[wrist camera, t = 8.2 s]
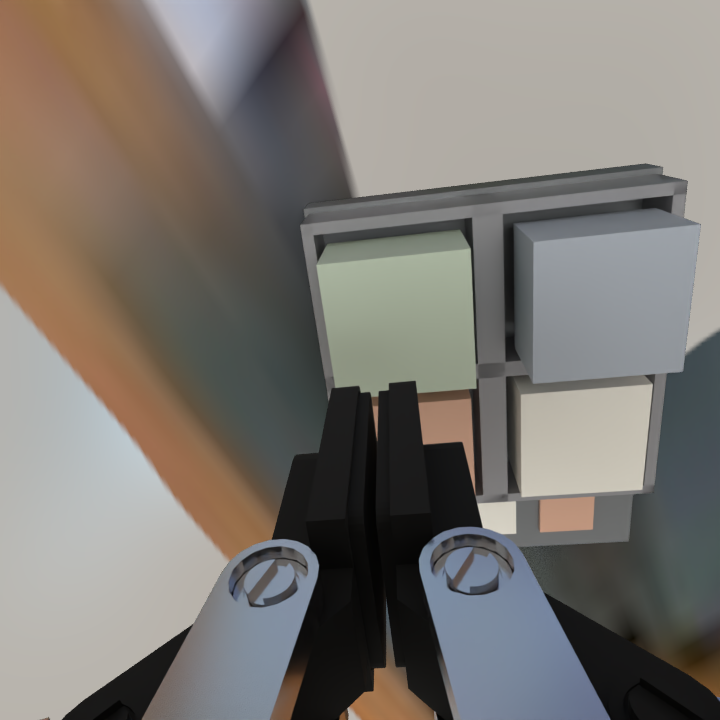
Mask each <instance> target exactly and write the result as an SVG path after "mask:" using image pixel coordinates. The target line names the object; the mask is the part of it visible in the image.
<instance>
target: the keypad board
mask: <svg viewBox="0 0 720 720" xmlns="http://www.w3.org/2000/svg"><path fill="white" fill-rule="evenodd" d="M662 173H663V167H660V166H655V165H650V164H638V165H630V166H621V167H613V168H605V169H596V170H588V171H579V172H570V173H562V174H553V175H545V176H537V177H529V178H520V179H511V180H502V181H494V182H485V183H477V184H468V185H460V186H451V187H443V188H434V189H427V190H417V191H410V192H401V193H392V194H384V195H375V196H366V197H358V198H349V199H341V200H332V201H324V202H315V203H309V204H308V205H307V206H306V207H305V208H304V215H305V220H304V221H303V222H302V223H301V224H300V228H301V234H302V240H303V246H304V253H305V259H306V265H307V271H308V277H309V283H310V290H311V296H312V302H313V308H314V314H315V320H316V327H317V333H318V339H319V345H320V351H321V357H322V363H323V370H324V376H325V382H326V388H327V394H328V400H329V399H330V394H331V389H332V388H335V382H334V376H333V369H332V363H331V356H330V350H329V344H328V337H327V331H326V324H325V318H324V311H323V305H322V298H321V292H320V286H319V279H318V273H317V266H316V265H317V263H318V261H319V259H320V257H321V255H322V253H323V251H324V249H325V248H326V246H327V244H330V243H339V242H348V241H357V240H366V239H376V238H385V237H394V236H403V235H412V234H421V233H430V232H439V231H448V230H457V229H460V230H461V232H462V234H463V236H464V238H465V239H466V241H467V243H468V245H469V247H470V248H471V267H472V291H473V315H474V339H475V363H476V387H477V388H476V389H469V393H470V397H471V410H472V431H473V453H474V474H475V496H476V500H477V505H478V509H479V513H480V517H481V522H482V526H483V528H485V529H489V530H492V531H495V532H497V533H500V534H502V535H504V536H505V537H507V538H508V539H510V540H511V541H512V542H514V543H515V544H516V546H517V547H528V546H548V545H567V544H586V543H606V542H625V541H629V533H630V522H631V511H632V500H633V494H645V493H654V484H655V475H656V466H657V457H658V448H659V439H660V430H661V420H662V411H663V402H664V393H665V384H666V375H667V373H662V374H649V375H645V377H646V378H647V379H648V380H649V381H650V382H651V383H652V384H653V388H652V398H651V408H650V418H649V428H648V438H647V448H646V458H645V468H644V478H643V488H642V490H632V491H616V492H599V493H582V494H566V495H549V496H533V497H521V494H520V491H519V488H518V485H517V482H516V479H515V476H514V473H513V470H512V467H511V464H510V461H509V458H508V451H507V395H506V377H507V376H519V375H528V373H527V371H526V369H525V367H524V365H523V363H522V361H521V359H520V357H519V355H518V353H517V351H516V349H515V324H514V230H513V223H521V222H530V221H539V220H548V219H558V218H567V217H576V216H585V215H594V214H603V213H612V212H621V211H630V210H639V209H649V208H657V209H660V210H663V211H666V212H668V213H671V214H674V215H677V216H679V217H682V218H684V211H685V202H686V192H687V184H688V181H687V180H682V179H678V178H673V177H669V176H665V175H662Z"/></svg>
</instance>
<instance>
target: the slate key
mask: <svg viewBox="0 0 720 720" xmlns="http://www.w3.org/2000/svg"><path fill="white" fill-rule="evenodd" d="M700 228H701V224H699V223H696V222H693V221H691V220H688V219H685V218H682V217H679V216H677V215H674V214H671V213H668V212H666V211H663V210H660V209H657V208H649V209H639V210H630V211H621V212H612V213H603V214H594V215H585V216H576V217H567V218H558V219H548V220H539V221H530V222H521V223H513V230H514V324H515V349H516V351H517V353H518V355H519V357H520V359H521V361H522V363H523V365H524V367H525V369H526V371H527V373H528V375H529V377H530V379H531V381H532V383H533V384H538V383H550V382H563V381H575V380H587V379H600V378H612V377H624V376H637V375H649V374H662V373H674V372H683V367H684V358H685V350H686V341H687V334H688V326H689V318H690V309H691V301H692V293H693V284H694V277H695V269H696V260H697V252H698V244H699V236H700Z"/></svg>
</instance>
